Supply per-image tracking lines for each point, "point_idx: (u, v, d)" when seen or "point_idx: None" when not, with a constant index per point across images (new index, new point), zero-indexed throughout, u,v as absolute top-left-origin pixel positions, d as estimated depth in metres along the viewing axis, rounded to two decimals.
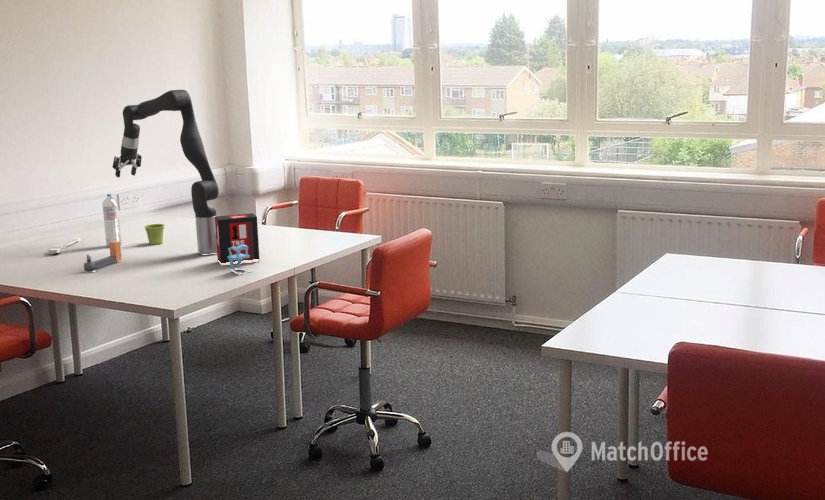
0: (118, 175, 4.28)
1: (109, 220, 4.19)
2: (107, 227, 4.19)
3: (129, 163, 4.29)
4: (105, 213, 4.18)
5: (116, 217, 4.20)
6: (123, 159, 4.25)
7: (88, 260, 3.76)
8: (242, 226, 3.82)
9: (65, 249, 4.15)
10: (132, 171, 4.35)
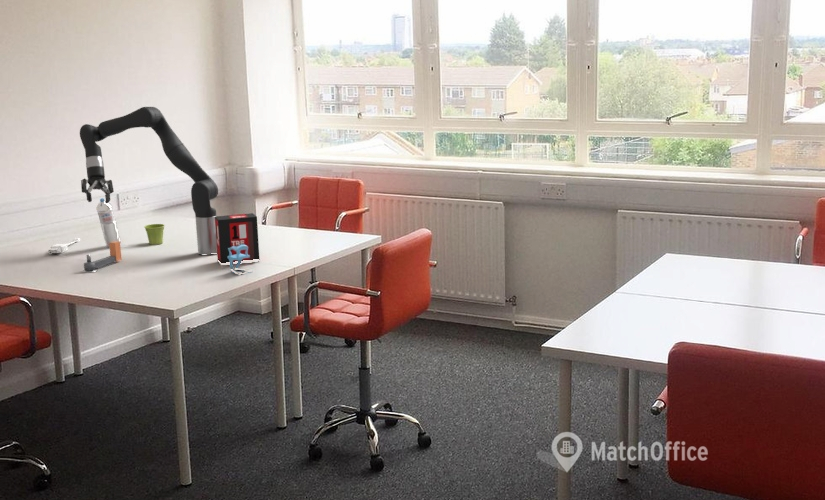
0: (89, 198, 4.04)
1: (106, 224, 4.14)
2: (105, 230, 4.16)
3: (99, 186, 4.08)
4: (101, 218, 4.12)
5: (112, 220, 4.15)
6: (91, 180, 4.06)
7: (88, 260, 3.76)
8: (242, 226, 3.82)
9: (65, 249, 4.16)
10: (106, 198, 4.11)
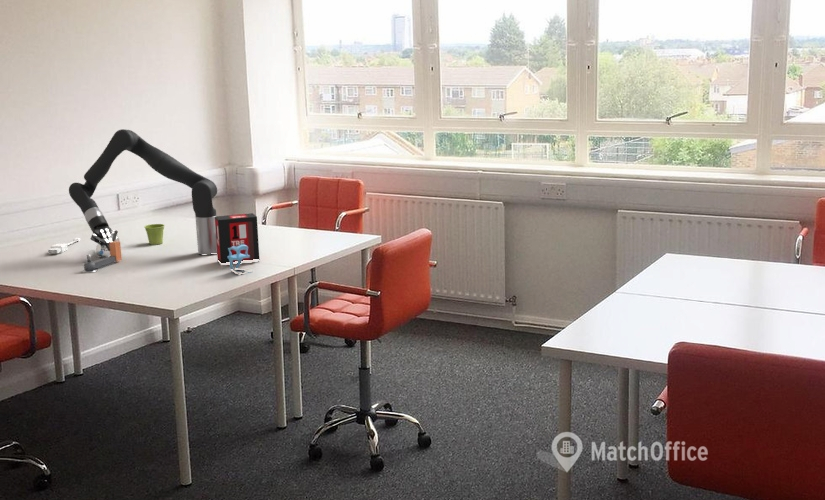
0: None
1: None
2: None
3: None
4: None
5: None
6: (98, 234, 3.93)
7: (88, 260, 3.76)
8: (242, 226, 3.82)
9: (65, 249, 4.16)
10: None
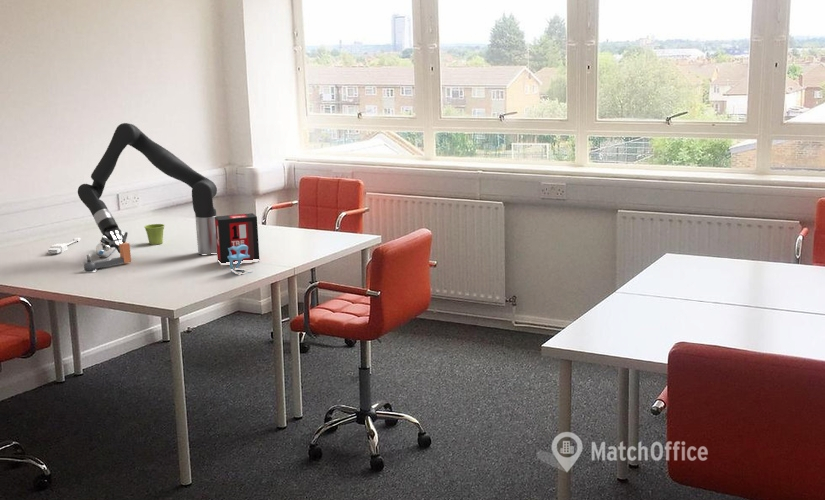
0: None
1: None
2: None
3: None
4: None
5: (112, 251, 4.08)
6: (108, 236, 3.90)
7: (88, 260, 3.76)
8: (242, 226, 3.82)
9: (65, 249, 4.16)
10: None
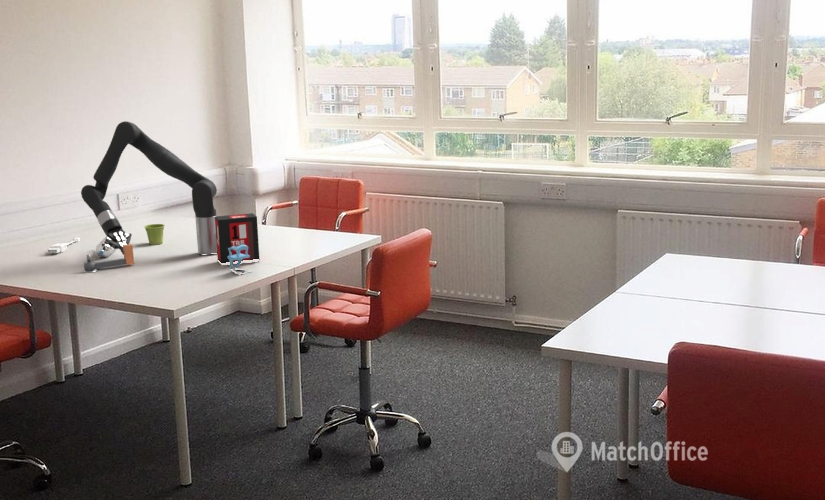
0: None
1: None
2: None
3: None
4: None
5: (112, 251, 4.08)
6: (112, 237, 3.87)
7: (88, 260, 3.76)
8: (242, 226, 3.82)
9: (65, 249, 4.16)
10: None
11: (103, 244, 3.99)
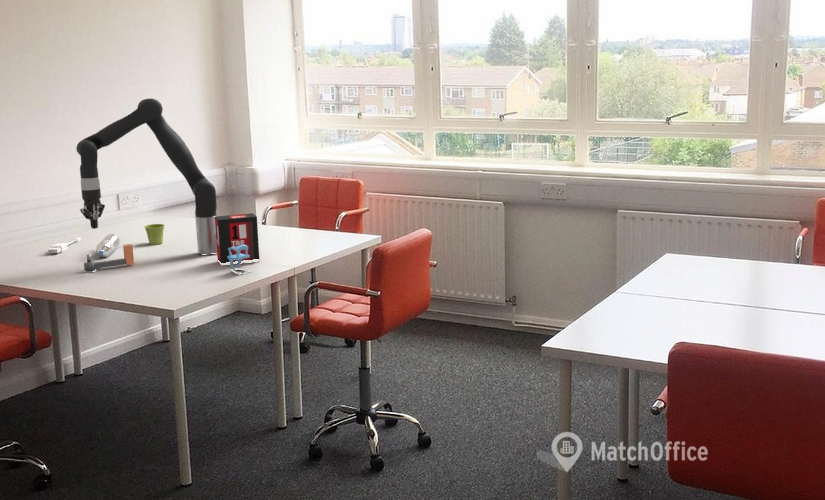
0: (94, 226, 3.80)
1: None
2: None
3: None
4: None
5: (112, 251, 4.08)
6: (89, 208, 3.76)
7: (88, 260, 3.76)
8: (242, 226, 3.82)
9: (65, 248, 4.17)
10: None
11: (103, 244, 3.99)
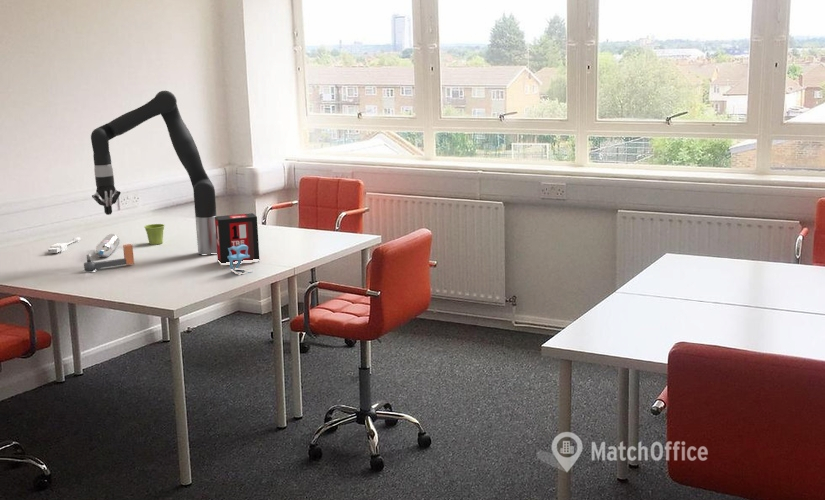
0: (107, 212, 3.89)
1: None
2: None
3: None
4: None
5: (112, 251, 4.08)
6: (101, 194, 3.85)
7: (88, 260, 3.76)
8: (242, 226, 3.82)
9: (65, 248, 4.17)
10: None
11: (103, 244, 3.99)
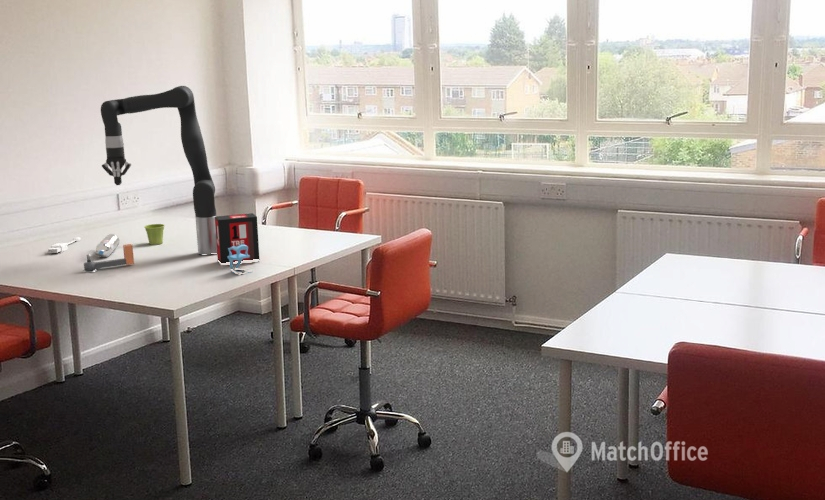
0: (115, 182, 3.98)
1: None
2: None
3: (114, 165, 3.96)
4: None
5: (112, 251, 4.08)
6: None
7: (88, 260, 3.76)
8: (242, 226, 3.82)
9: (65, 248, 4.17)
10: None
11: (103, 244, 3.99)
